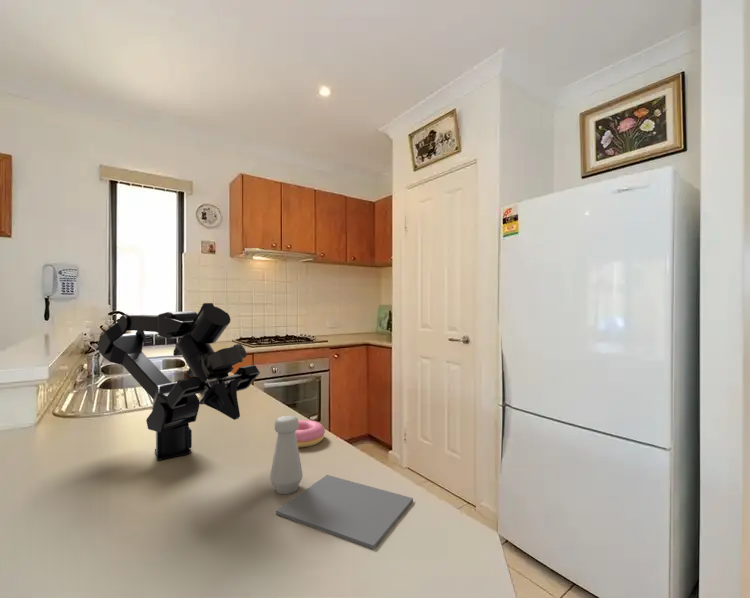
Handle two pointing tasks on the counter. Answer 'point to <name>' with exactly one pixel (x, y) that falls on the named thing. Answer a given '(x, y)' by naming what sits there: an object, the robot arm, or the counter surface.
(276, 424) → the salt shaker
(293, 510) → the mat
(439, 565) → the counter surface
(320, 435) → the doughnut
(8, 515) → the counter surface
